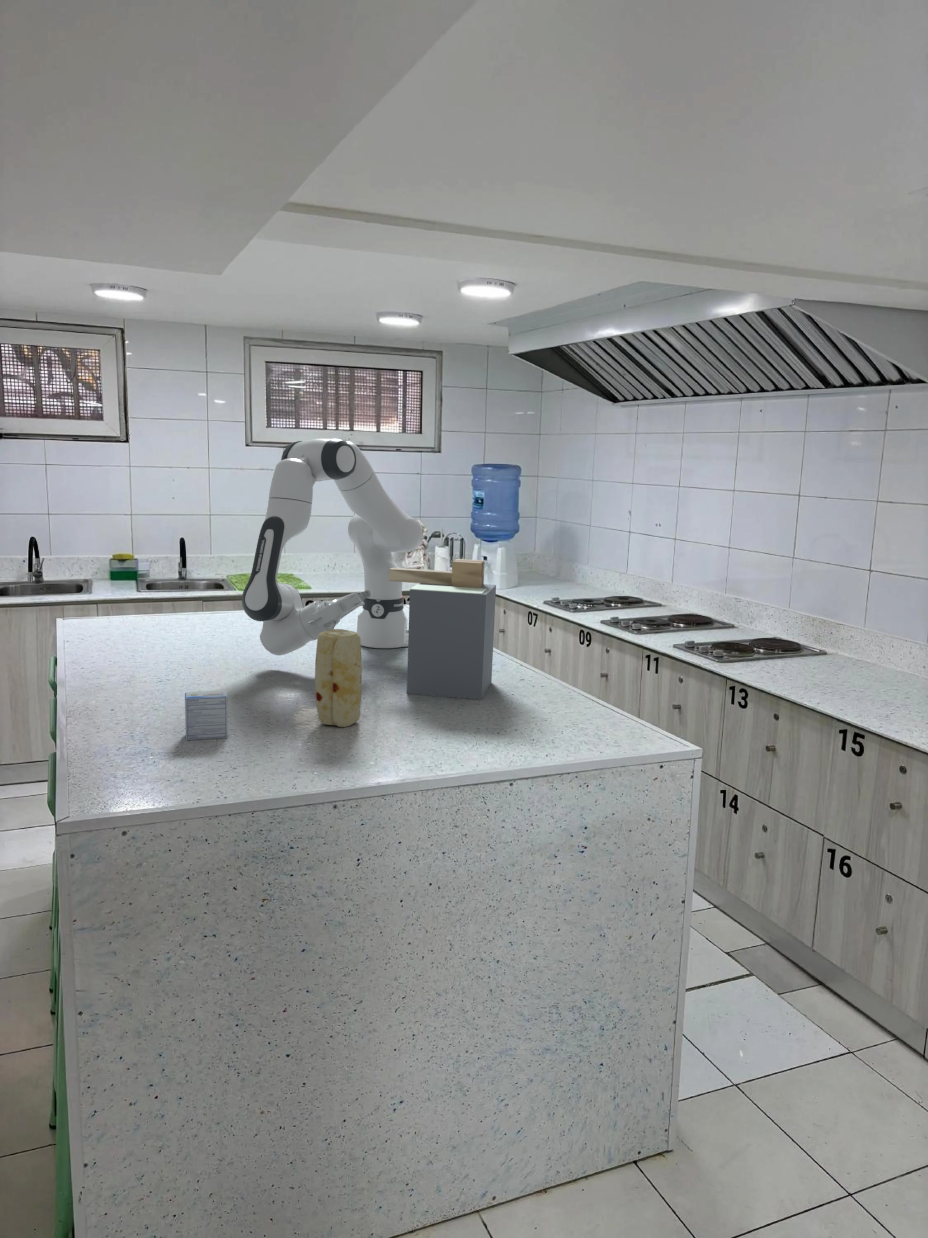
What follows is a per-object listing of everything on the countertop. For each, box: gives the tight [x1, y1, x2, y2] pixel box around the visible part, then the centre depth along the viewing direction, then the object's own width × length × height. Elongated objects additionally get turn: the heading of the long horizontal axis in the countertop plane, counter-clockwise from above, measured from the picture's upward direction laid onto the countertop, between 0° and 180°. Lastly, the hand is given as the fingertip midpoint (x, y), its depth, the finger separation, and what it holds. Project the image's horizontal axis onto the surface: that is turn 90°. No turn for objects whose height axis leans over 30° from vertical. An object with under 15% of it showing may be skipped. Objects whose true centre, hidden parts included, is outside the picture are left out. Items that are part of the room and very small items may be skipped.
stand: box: [406, 583, 497, 701], centre depth 214 cm, size 17×18×25 cm
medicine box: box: [184, 689, 229, 741], centre depth 172 cm, size 8×4×9 cm, turn 108°
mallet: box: [389, 558, 486, 588], centre depth 217 cm, size 6×23×6 cm, turn 80°
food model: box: [314, 628, 363, 728], centre depth 182 cm, size 10×7×20 cm
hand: (365, 594), depth 221 cm, fingers open, 8 cm apart
